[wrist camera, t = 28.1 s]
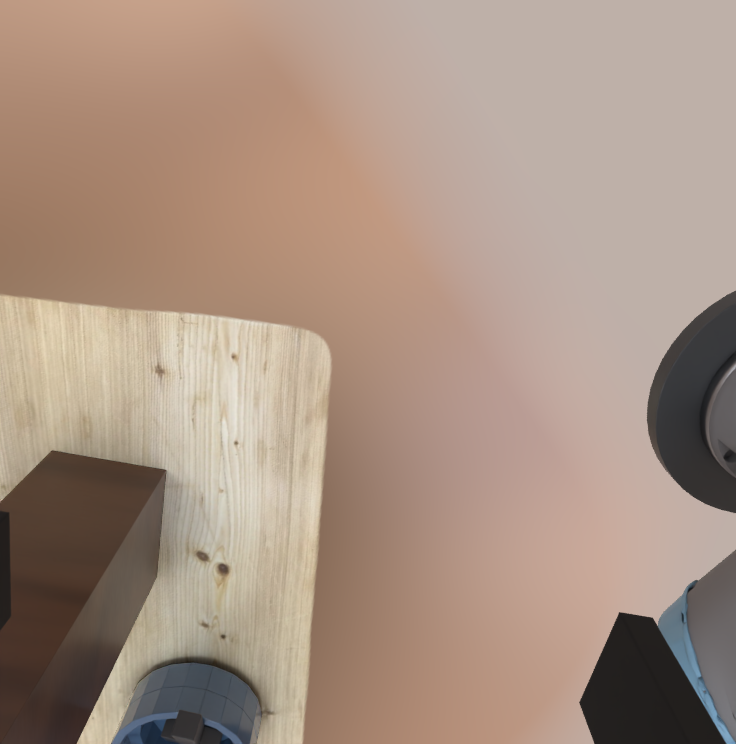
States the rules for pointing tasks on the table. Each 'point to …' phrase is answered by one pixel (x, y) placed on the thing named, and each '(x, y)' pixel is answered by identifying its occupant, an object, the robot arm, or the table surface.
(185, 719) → the stepped dark block
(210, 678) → the bowl
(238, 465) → the table surface
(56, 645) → the stand
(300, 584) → the table surface
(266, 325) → the table surface
